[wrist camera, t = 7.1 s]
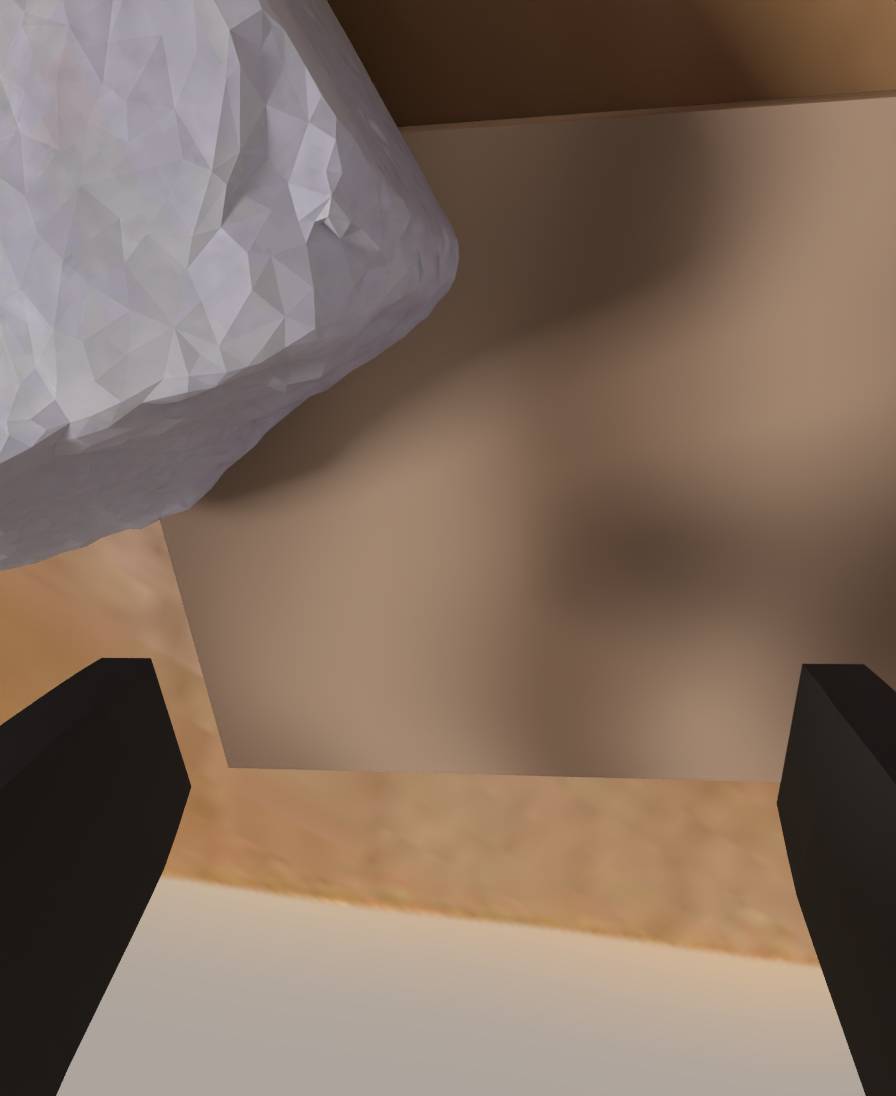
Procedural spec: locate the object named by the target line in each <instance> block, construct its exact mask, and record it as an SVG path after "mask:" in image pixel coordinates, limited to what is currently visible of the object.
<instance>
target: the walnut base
mask: <svg viewBox="0 0 896 1096" xmlns="http://www.w3.org/2000/svg"><path fill="white" fill-rule="evenodd" d="M397 128H398V130H399V131H400V133H401V135H402V137H403V139H404V140H405V142H406V144H407V146H408V148H409V149H410V151H411V153H412V155H413V156H414V158H415V160H416V162H417V163H418V165H419V167H420V169H421V170H422V172H423V174H424V176H425V178H426V180H427V182H428V184H429V186H430V188H431V190H432V192H433V194H434V197H435V198H436V200H437V202H438V203H439V205H440V206H441V208H442V210H443V211H444V213H445V215H446V216H447V218H448V219H449V221H450V223H451V224H452V227H453V229H454V232H455V235H456V237H457V240H458V246H459V257H460V258H459V262H458V267H457V272H456V276H455V280H454V282H453V284H452V285H451V287H450V289H449V291H448V292H447V293H446V294H445V295H444V296H443V297H442V298H441V299H440V300H439V301H438V302H437V304H436V305H435V307H434V308H433V310H432V312H431V313H430V315H429V316H428V318H426V319H424V320H423V321H421V322H419V323H418V324H417V325H416V326H415V327H414V328H413V329H412V330H411V331H410V332H409V333H408V334H407V335H406V336H405V337H404V338H402V339H401V340H399V341H398V342H396V343H395V344H393V345H392V346H390V347H389V348H387V349H386V350H385V351H383V352H382V353H380V354H379V355H378V356H376V357H375V358H373V359H372V360H370V361H368V362H366V363H365V364H363V365H361V366H359V367H358V368H356V369H354V370H352V371H351V372H350V373H348V374H347V375H346V376H344V377H343V378H342V379H341V380H339V381H338V382H337V383H335V384H334V385H333V386H331V387H330V388H329V389H327V390H326V391H323V392H320V393H317V394H315V395H312V396H310V397H309V398H307V399H306V400H305V401H304V402H302V403H301V404H300V405H299V406H298V407H296V408H295V409H294V410H293V411H291V412H290V413H289V414H288V415H286V416H285V417H284V418H283V419H282V420H280V421H279V422H278V423H277V424H276V425H274V426H273V427H272V428H271V429H270V430H269V431H267V432H266V433H265V434H264V435H263V437H262V438H261V439H260V441H259V442H258V443H257V445H255V446H254V447H253V448H252V449H251V450H250V451H248V452H247V453H246V454H245V455H244V456H242V457H241V458H240V459H239V460H238V461H236V462H235V463H234V464H233V465H231V466H230V467H229V468H228V469H226V470H225V472H224V473H223V474H222V476H221V477H220V478H219V480H218V481H217V482H216V483H215V485H214V486H213V487H212V489H211V490H209V491H208V492H207V493H206V494H205V495H204V496H203V497H202V498H201V499H200V500H199V501H198V502H196V503H195V504H194V505H193V506H192V507H191V508H190V509H188V510H185V511H182V512H180V513H177V514H174V515H171V516H168V517H165V518H162V519H160V522H161V526H162V529H163V533H164V536H165V540H166V544H167V547H168V551H169V554H170V558H171V562H172V565H173V569H174V572H175V576H176V580H177V583H178V587H179V590H180V594H181V598H182V601H183V605H184V609H185V612H186V616H187V619H188V623H189V627H190V630H191V634H192V637H193V641H194V645H195V648H196V652H197V655H198V659H199V663H200V666H201V670H202V673H203V677H204V681H205V684H206V688H207V691H208V695H209V699H210V702H211V706H212V709H213V713H214V717H215V720H216V724H217V727H218V731H219V735H220V738H221V742H222V745H223V749H224V753H225V756H226V760H227V763H228V767H229V768H260V769H298V770H336V771H374V772H412V773H450V774H488V775H526V776H564V777H602V778H640V779H678V780H716V781H754V782H781V778H782V772H783V767H784V761H785V756H786V750H787V745H788V739H789V734H790V728H791V723H792V717H793V712H794V706H795V701H796V695H797V690H798V684H799V679H800V673H801V668H802V664H864V665H866V666H867V667H868V668H869V669H870V670H872V671H873V672H874V673H875V674H876V675H877V676H879V677H880V678H881V679H882V680H883V681H884V682H885V683H887V684H888V685H889V686H890V687H891V688H892V689H893V690H894V691H896V90H890V91H877V92H863V93H850V94H836V95H823V96H809V97H796V98H783V99H769V100H756V101H742V102H729V103H715V104H702V105H688V106H675V107H662V108H648V109H635V110H621V111H608V112H594V113H581V114H568V115H554V116H541V117H527V118H514V119H500V120H487V121H474V122H460V123H447V124H433V125H420V126H406V127H397Z"/></svg>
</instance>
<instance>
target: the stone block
mask: <svg viewBox="0 0 896 1096" xmlns="http://www.w3.org/2000/svg"><path fill="white" fill-rule="evenodd" d="M459 258H460V257H459V246H458V240H457V237H456V235H455V232H454V229H453V227H452V224H451V223H450V221H449V219H448V218H447V216H446V215H445V213H444V211H443V210H442V208H441V206H440V205H439V203H438V202H437V200H436V198H435V197H434V194H433V192H432V190H431V188H430V186H429V184H428V182H427V180H426V178H425V176H424V174H423V172H422V170H421V169H420V167H419V165H418V163H417V162H416V160H415V158H414V156H413V155H412V153H411V151H410V149H409V148H408V146H407V144H406V142H405V140H404V139H403V137H402V135H401V133H400V131H399V130H398V128H397V126H396V124H395V122H394V121H393V119H392V117H391V115H390V113H389V112H388V110H387V108H386V106H385V104H384V103H383V101H382V99H381V97H380V95H379V94H378V92H377V90H376V88H375V86H374V84H373V83H372V81H371V79H370V77H369V75H368V73H367V71H366V70H365V68H364V66H363V64H362V62H361V60H360V58H359V57H358V55H357V53H356V51H355V49H354V47H353V46H352V44H351V42H350V40H349V39H348V37H347V35H346V33H345V32H344V30H343V28H342V26H341V25H340V23H339V21H338V19H337V18H336V16H335V14H334V12H333V11H332V9H331V7H330V5H329V4H328V2H327V0H0V571H3V570H7V569H12V568H16V567H21V566H25V565H29V564H33V563H37V562H40V561H42V560H44V559H47V558H49V557H52V556H54V555H57V554H59V553H62V552H66V551H70V550H74V549H78V548H82V547H86V546H88V545H89V544H91V543H93V542H95V541H96V540H98V539H100V538H102V537H105V536H108V535H111V534H114V533H117V532H120V531H123V530H127V529H141V528H143V527H145V526H147V525H149V524H152V523H154V522H156V521H158V520H160V519H162V518H165V517H168V516H171V515H174V514H177V513H180V512H182V511H185V510H188V509H190V508H191V507H192V506H193V505H194V504H195V503H196V502H198V501H199V500H200V499H201V498H202V497H203V496H204V495H205V494H206V493H207V492H208V491H209V490H211V489H212V487H213V486H214V485H215V483H216V482H217V481H218V480H219V478H220V477H221V476H222V474H223V473H224V472H225V470H226V469H228V468H229V467H230V466H231V465H233V464H234V463H235V462H236V461H238V460H239V459H240V458H241V457H242V456H244V455H245V454H246V453H247V452H248V451H250V450H251V449H252V448H253V447H254V446H255V445H257V443H258V442H259V441H260V439H261V438H262V437H263V435H264V434H265V433H266V432H267V431H269V430H270V429H271V428H272V427H273V426H274V425H276V424H277V423H278V422H279V421H280V420H282V419H283V418H284V417H285V416H286V415H288V414H289V413H290V412H291V411H293V410H294V409H295V408H296V407H298V406H299V405H300V404H301V403H302V402H304V401H305V400H306V399H307V398H309V397H310V396H312V395H315V394H317V393H320V392H323V391H326V390H327V389H329V388H330V387H331V386H333V385H334V384H335V383H337V382H338V381H339V380H341V379H342V378H343V377H344V376H346V375H347V374H348V373H350V372H351V371H352V370H354V369H356V368H358V367H359V366H361V365H363V364H365V363H366V362H368V361H370V360H372V359H373V358H375V357H376V356H378V355H379V354H380V353H382V352H383V351H385V350H386V349H387V348H389V347H390V346H392V345H393V344H395V343H396V342H398V341H399V340H401V339H402V338H404V337H405V336H406V335H407V334H408V333H409V332H410V331H411V330H412V329H413V328H414V327H415V326H416V325H417V324H418V323H419V322H421V321H423V320H424V319H426V318H428V316H429V315H430V313H431V312H432V310H433V308H434V307H435V305H436V304H437V302H438V301H439V300H440V299H441V298H442V297H443V296H444V295H445V294H446V293H447V292H448V291H449V289H450V287H451V285H452V284H453V282H454V280H455V276H456V272H457V267H458V262H459Z"/></svg>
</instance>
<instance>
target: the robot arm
mask: <svg viewBox="0 0 896 1096" xmlns="http://www.w3.org/2000/svg"><path fill="white" fill-rule="evenodd" d="M190 789H191V784H190V781H189V778H188V774H187V771H186V768H185V765H184V762H183V759H182V755H181V752H180V749H179V746H178V743H177V740H176V736H175V733H174V730H173V727H172V724H171V721H170V717H169V714H168V711H167V708H166V705H165V701H164V698H163V695H162V692H161V689H160V686H159V682H158V679H157V676H156V673H155V670H154V667H153V663H152V660H151V658H101V659H99V660H98V661H96V662H94V663H93V664H91V665H89V666H88V667H86V668H84V669H83V670H81V671H79V672H78V673H76V674H75V675H73V676H72V677H70V678H69V679H67V680H66V681H64V682H63V683H61V684H60V685H58V686H57V687H55V688H54V689H52V690H51V691H49V692H48V693H47V694H45V695H44V696H42V697H41V698H39V699H38V700H36V701H35V702H33V703H32V704H31V705H29V706H28V707H26V708H25V709H23V710H22V711H21V712H19V713H18V714H16V715H15V716H13V717H12V718H11V719H9V720H8V721H6V722H5V723H3V724H2V725H1V726H0V1096H56V1094H57V1092H58V1090H59V1088H60V1085H61V1083H62V1081H63V1079H64V1076H65V1074H66V1072H67V1069H68V1067H69V1065H70V1063H71V1061H72V1059H73V1057H74V1055H75V1053H76V1051H77V1049H78V1047H79V1045H80V1043H81V1040H82V1038H83V1036H84V1034H85V1032H86V1030H87V1028H88V1026H89V1023H90V1022H91V1020H92V1018H93V1016H94V1014H95V1012H96V1010H97V1008H98V1005H99V1003H100V1001H101V999H102V997H103V995H104V993H105V991H106V989H107V987H108V985H109V983H110V981H111V979H112V977H113V975H114V973H115V971H116V968H117V966H118V964H119V962H120V960H121V958H122V956H123V954H124V952H125V950H126V948H127V946H128V944H129V942H130V940H131V938H132V936H133V933H134V931H135V929H136V927H137V925H138V923H139V921H140V919H141V917H142V915H143V913H144V910H145V908H146V906H147V904H148V902H149V900H150V898H151V896H152V894H153V892H154V889H155V887H156V885H157V883H158V881H159V879H160V876H161V874H162V872H163V870H164V867H165V865H166V862H167V859H168V856H169V853H170V850H171V848H172V845H173V842H174V839H175V836H176V833H177V830H178V827H179V824H180V821H181V818H182V814H183V811H184V808H185V805H186V802H187V799H188V795H189V792H190ZM777 807H778V811H779V816H780V821H781V826H782V831H783V836H784V841H785V845H786V850H787V855H788V859H789V864H790V868H791V872H792V877H793V881H794V886H795V890H796V894H797V898H798V901H799V904H800V907H801V910H802V913H803V916H804V919H805V922H806V925H807V928H808V930H809V933H810V936H811V939H812V942H813V945H814V948H815V951H816V954H817V957H818V960H819V963H820V966H821V968H822V971H823V974H824V977H825V980H826V983H827V986H828V989H829V992H830V994H831V997H832V1000H833V1003H834V1006H835V1009H836V1011H837V1014H838V1017H839V1020H840V1023H841V1026H842V1028H843V1031H844V1035H845V1037H846V1040H847V1043H848V1046H849V1049H850V1052H851V1055H852V1057H853V1060H854V1063H855V1066H856V1069H857V1072H858V1075H859V1078H860V1080H861V1083H862V1086H863V1089H864V1092H865V1095H866V1096H896V691H894V690H893V689H892V688H891V687H890V686H889V685H888V684H887V683H885V682H884V681H883V680H882V679H881V678H880V677H879V676H877V675H876V674H875V673H874V672H873V671H872V670H870V669H869V668H868V667H867V666H866V665H864V664H802V668H801V673H800V679H799V684H798V690H797V695H796V701H795V706H794V712H793V717H792V723H791V728H790V734H789V739H788V745H787V750H786V756H785V761H784V767H783V772H782V778H781V783H780V789H779V794H778V800H777Z"/></svg>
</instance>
